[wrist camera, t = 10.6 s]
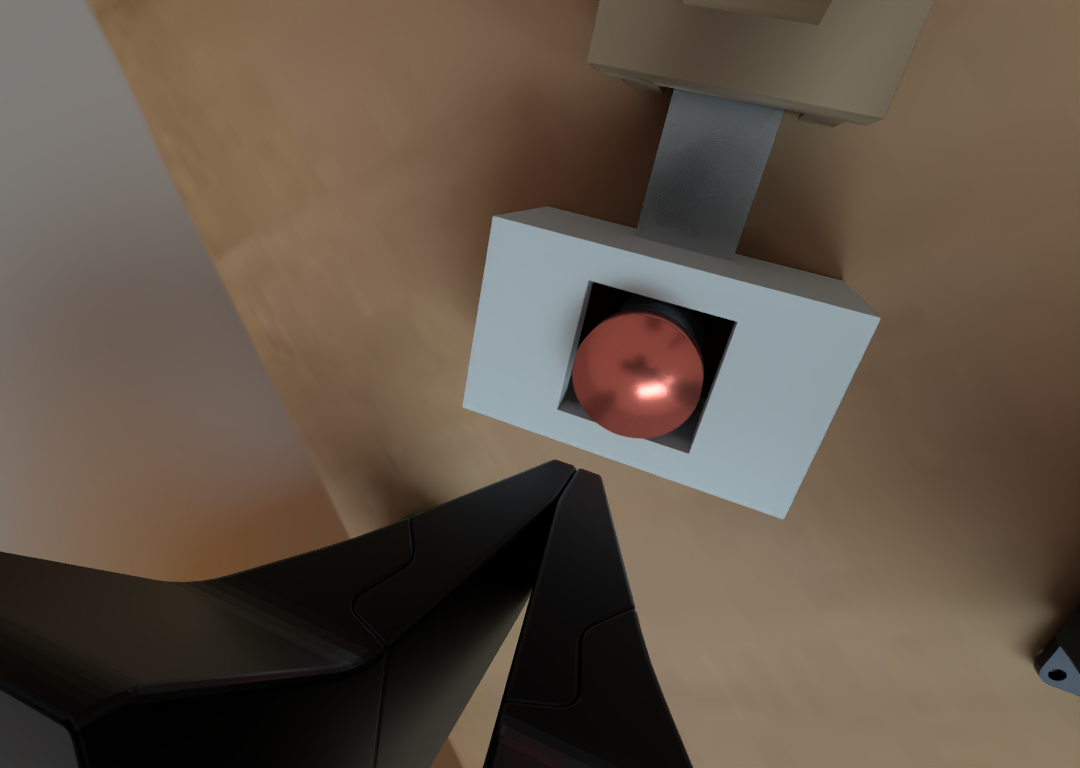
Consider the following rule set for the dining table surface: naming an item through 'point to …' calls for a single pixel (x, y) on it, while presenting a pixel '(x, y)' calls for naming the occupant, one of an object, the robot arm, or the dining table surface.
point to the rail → (707, 172)
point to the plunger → (641, 368)
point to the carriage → (765, 51)
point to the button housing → (689, 281)
